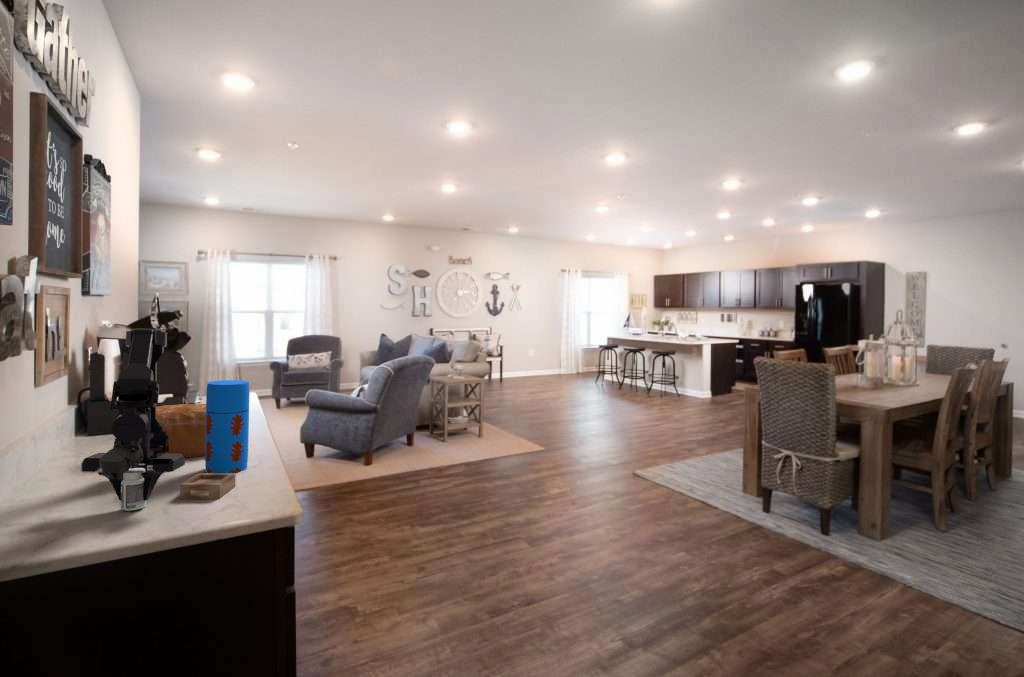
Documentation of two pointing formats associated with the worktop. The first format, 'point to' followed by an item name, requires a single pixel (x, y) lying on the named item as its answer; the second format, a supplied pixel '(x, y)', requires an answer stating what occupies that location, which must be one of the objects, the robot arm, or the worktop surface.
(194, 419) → the bread
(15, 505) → the worktop surface
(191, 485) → the wooden tray
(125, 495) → the pill bottle
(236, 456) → the thermos
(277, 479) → the worktop surface
